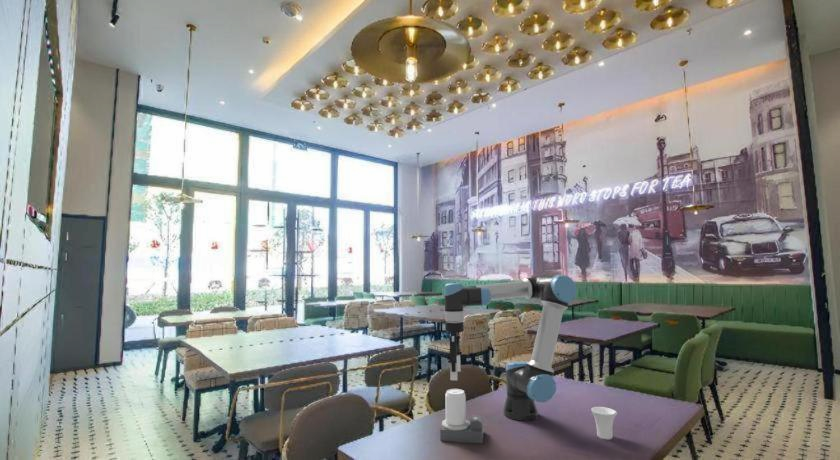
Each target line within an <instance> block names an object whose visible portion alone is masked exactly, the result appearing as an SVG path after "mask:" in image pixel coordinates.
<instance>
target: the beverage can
mask: <svg viewBox="0 0 840 460" xmlns="http://www.w3.org/2000/svg"><path fill="white" fill-rule="evenodd" d="M444 396H445V401H444V402H445V409H444V410H445V419H446V423H448V424H450V425H453V426H460V425H463V424H465V423H466V420H467V401H466V400H467V396H466V393H465V390H463V389H460V388H450V389H447V390H446V392H445V395H444Z"/></svg>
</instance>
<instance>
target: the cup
mask: <svg viewBox="0 0 840 460" xmlns="http://www.w3.org/2000/svg"><path fill="white" fill-rule="evenodd" d="M591 413H592V415H593V417H594V421H595V425H596V435H597V438H600V439H603V440H612V439H613V437H614V435H613V424H614V420H615V417H617V416H618V412H617V411H616V410H614V409H612V408H609V407H605V406H593V407H591Z"/></svg>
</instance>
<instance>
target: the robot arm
mask: <svg viewBox="0 0 840 460" xmlns="http://www.w3.org/2000/svg"><path fill="white" fill-rule="evenodd" d="M577 289H578V288H577V285H576V283H575V281H574V280H573V278H571V276H568V275H565V274H560V273H559V274H542V275H538V276H533V277H532V276H531V277H526V278H522V280H519V281H509V282H498V283H487V284H486V283H485V284H478V285H469V286H463V284H462V283H461V282H460V283H459V282H458V283H456V282H455V283H446V284H445V285H444V290H443V291H444V292H443V293H444V294H443V296H444V297H443V298H444V313H443V316H445V317H444V319H445V322H444V331H445V332H447V333H450V336H449V338H448V339H449V359H448V360H447V363H448V364H449V374H450V375H449V377H450V381H458V375H459V374H458V372H461V371H462V370H461V355H462V353H463V352H462V351H461V344H460V343H461V336H460V333H462V332H464V330H465V327H464V316H465V315H464V307H483V306H488V305H489V304H491V301H501V300H509V299H518V298H519V299H520V298H525V299H526V300H529V299H534V300H535V299H538V300H540V303H541V304H542V310H541V315H540V318H539V322H538V327H537V332H536V336H535V340H534V344H533V349H532V353H531V358H530V360H529V361H509V362H507V363H506V364H505V365H506V366H505V381H506V383H505V384H506V385H505V386H506V398H505V401H504V404H503V408H502V410H503V413H502V414H503V416H505V417H507V418H508V419H512V420H518V421H532V420H536V419H538V417H539V411H538V407H537V405H536V402H537V403H546V402H549V400H551V399H553V397H554V396H555V394H556V392H557V383H556V381H555V379H554V374H555V371H554V369H553V368H552V364H553V361H554V356H555V350H556V345H557V341H558V338H559V332H560V328H561V324H562V318H563V314H564V311H566V310H568V308H569V305H570V303H571V302H573V301H574V300H575V299H576V298H577V293H578V290H577Z"/></svg>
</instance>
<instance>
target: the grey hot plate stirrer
mask: <svg viewBox="0 0 840 460" xmlns="http://www.w3.org/2000/svg"><path fill="white" fill-rule="evenodd" d="M482 419H483V418H482V415H479V414H471V416H470V420H467V419H466V423H465V424H463V425H460V426H453V425H450V424H448V423H446V418H444V419H443V420H442V422H441V426H440V429H439V432H440V434H439V436H440V437H439V438H440V441H446V442H458V443H470V444H471V443H472V444H483V443H484V421H483V420H482Z"/></svg>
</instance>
